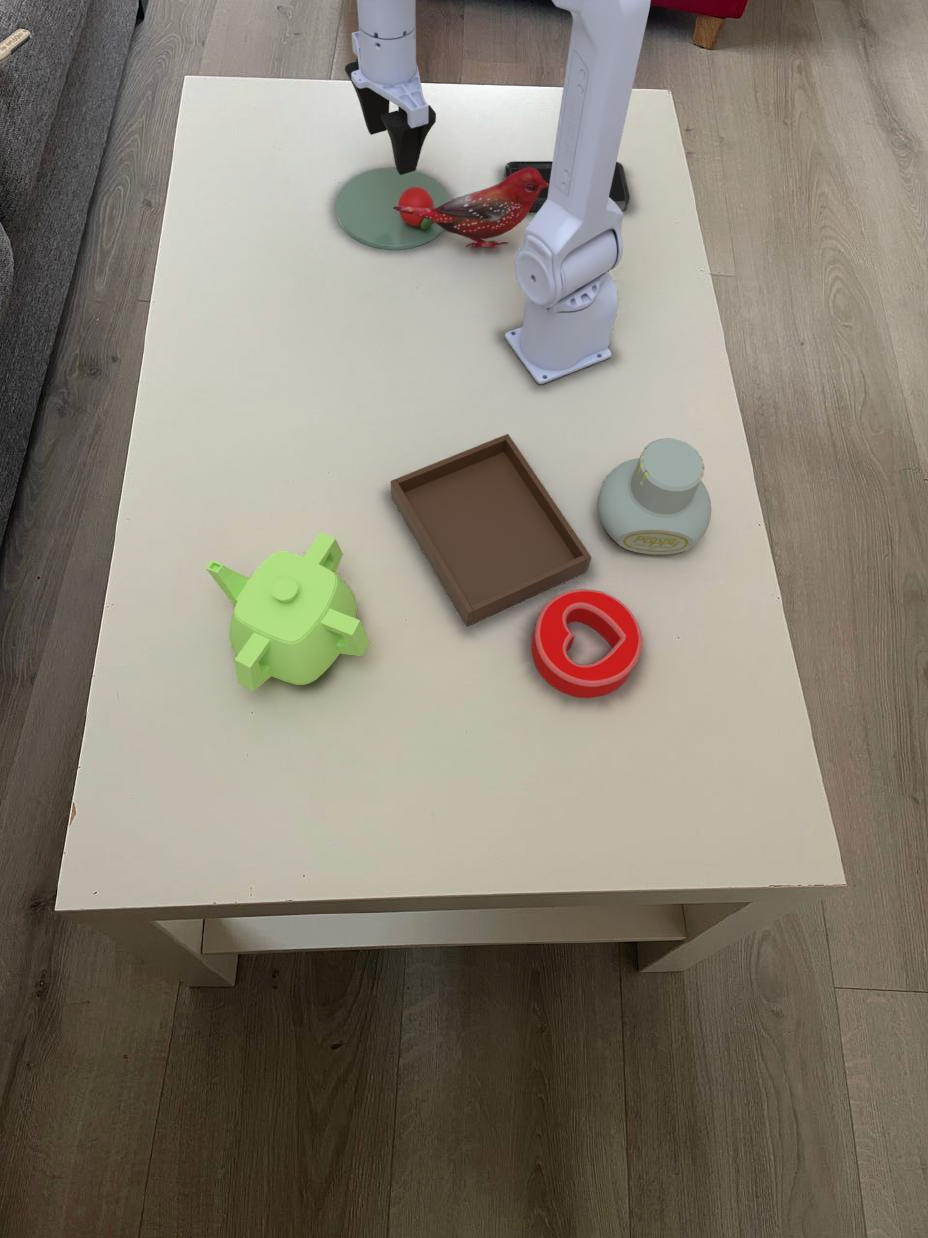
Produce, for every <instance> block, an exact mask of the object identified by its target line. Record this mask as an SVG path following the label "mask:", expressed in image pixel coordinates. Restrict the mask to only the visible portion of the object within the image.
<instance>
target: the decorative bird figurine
mask: <svg viewBox="0 0 928 1238" xmlns="http://www.w3.org/2000/svg"><path fill="white" fill-rule="evenodd" d="M548 186H549V184H548V183H547V182H546V181H544V180H543V179H542V176H541V174H540V173H539V172H538V170H536V169H535V168H524V169H522V170H519V171H517V172H514V173H512V174H511V175H510V176H508V177H507V178H506V179H505V178H504V179H503V180H502V181H501V182H499V183H497V184H495V185H492V186H490V187H487V188H484V189H481V190H477V191H473V192H469V193H467V194H464V195H461V196H459V197H456V198H454V199H452V200H451V199H450V201H449V202H447V203H445V204H443V205H441V206H439V207H437V208H418V207H404V206H401V207H397V206H396V207H393V209H395V210H397V211H401V212H404V213H408V214H412V215H415V216H419V217H423V218H427V219H429V220H431V221H433V222H435V223H436V224H438V225H439V226H440V227H442V228H443V229H444V230H443V231H445V232H447V233H450V234H455V235H458V236H462V237H464V238H467V239H469V240H471V241H473V242H470V243H468V244H466V245H465V246H464V248H467V247H470V248H472V249H473V248H488V249H492V248H495V247H497V246H501V245H507V244H509V242H506V241H503V242H497V241H495V240H490V241H487V240H488V239H493V238H495V237H500V236H502V235H504V234H506V233H508V232H509V231H511V230H513V229H515V228H517V226H518V225H519V224H521V222H523V220H524V219H525V218H526V217H527V215H528V214H529V213H530V211H529V210H530V208H531V207H532V205H533V203H534V202H535V201H536V199H537V197H538V195H539V193H540V191H541V189H543V188H545V187H548Z"/></svg>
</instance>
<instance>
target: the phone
mask: <svg viewBox="0 0 928 1238" xmlns="http://www.w3.org/2000/svg"><path fill="white" fill-rule="evenodd" d="M552 163H553V160H552V161H551V160H550V161H548V160H547V161H545V160H543V161H542V160H541V161H540V160H539V161H534V160H533V161H531V160H530V161H529V160H528V161H521V160H519V161H509V162H507V163H506V164H505V167H504V180H505V179H506V178H507V177H508V176H510V175H511V174H512V173H514V172H517V171H519V170H522V169H524V168H535V169H536V170H538V172H539V173H540V174H541V176H542V179H543V180H544V181H546V182H547V183H548V184H550V177H551V170H552ZM624 168H625V167H624V165H623V164H622V163H621V162H619V161H616V166H615V170H614V175H613V179H612V184H611V189H610V193H609V198H611V199H612V200H613V201H614V202H615V203H616V204H617V206H618V207H619V208H620V210H621V211H624V210H626V209H628V207H629V202H630V200H631V196H630V191H629V186H628V182H627V178H626V173H625V169H624ZM548 190H549V186H548V187H545V188H543V189H541V191H540V193H539V195H538V197H537V199H536V201H535V202H534V203H533V205H532V207H531V208H530V210H529V212H538V211H539V210H540V208H541V207H542V206H543V204H544V203H545V202H546V200H547V197H548Z"/></svg>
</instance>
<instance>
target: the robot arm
mask: <svg viewBox="0 0 928 1238" xmlns="http://www.w3.org/2000/svg"><path fill="white" fill-rule="evenodd" d="M416 1H417V0H356V6H357V22H358V31H354V32H351V45H352V46H351V47H352V52H353V54H354V55H355V56H356V57H357V58H356V60H355V61H353V62H352V61H351V62H349V63H347V64H346V65H345V67H344V72H345V73H346V75H347V77H348V78H349V80H350V83H351V84H352V86H353V89H354V91H355V93H356V96H357V99H358V102H359V105H360V108H361V112H362V115H363V119H364V123H365V126H366V128H367V132H368V133H369V134H370V136H372V135H376V134H379V133H383V132H386V131H387V133H388V136H389V140H390V143H391V148H392V155H393V160H394V161H393V162H394V166H395V167H396V169H397V172H398V173H399V174H400V175H403V174H406V173H409V172H413V171H417V167H418V165H419V160H420V157H421V153H422V150H423V146H424V143H425V141H426V138H427V136H428V134H429V132H430V131H431V129H432V128H433V126H434V125H435V123H436V122H437V113H436V111H435V110H434V108H433V107H432V106H431V105H430V104H428V102H427V101H426V100H425V97H424V92H423V87H422V82H421V76H420V72H419V71H420V69H419V67H418V63H417V19H416V18H417V16H416V15H417V14H416V13H417V11H416V10H417V5H416V3H417V2H416ZM651 1H652V0H551V2H552V3H553V5H554V6H555V7H557V8H559V9H562V10H565V11H568V12H569V13H570V15H571V16H572V24H571V25H572V26H571V32H570V39H569V47H568V53H567V61H566V67H565V75H564V79H563V80H564V81H563V86H562V95H561V102H560V106H559V107H560V108H559V113H558V114H559V115H558V122H557V129H556V134H555V143H554V150H553V156H552V161H553V163H552V170H551V177H550V184H549V190H548V197H547V200H546V202H545V203H544V204H543V206H542V207H541V208H540V210H539V211H536V214H535V215H534V216H533V218H532V219H531V220H530V222H529V223H528V224H527V226H526V228H525V231H524V232H525V233H524V237H523V242H522V243H521V245H520V246H519V248H518V249H517V250H516V252H515V256H514V262H513V263H514V274H515V280H516V281H517V285H518V287H519V288H520V290H521V292H522V293H523V295H524V296H525V303H524V304H525V305H524V311H523V318H522V326H520V327H518V328H514V329H512V330H509V331H506V333H504V339H505V340H506V342H507V343H508V344H509V345H510V347H511V349H512V350H513V351H514V353H515V354H516V356H517V357H518V358H519V360H520V361H521V363H522V364H523V365H524V366H525V368H526V369H527V370H528V373H530V375H531V377H532V378H533V379H534V381H535V382H536V383H537V384H539V385H543V384H546V383H549V382H551V381H554V380H556V379H560V378H562V377H564V376H566V375H569V374H573V373H574V372H577V371H579V370H583V369H584V368H587V367H590V366H593V365H595V364H597V363H601V362H602V361H605V360H608V359H610V358H611V357H612V351H611V350H610V349H609V344H610V341H611V337H612V334H613V330H614V326H615V322H616V319H617V314H618V312H619V311H618V310H619V295H618V290H617V285H616V283H615V281H614V279H613V276H611V274H610V272H611V271H612V270H614V269H616V268H617V267H618V266H619V264H620V262H621V261H622V258H623V253H624V252H623V251H624V244H623V237H622V225H623V220H624V212H623V210H620V208H619V207H618V206H617V204H616V203H615V202H614V201H613V200H612V199H611V198H609V193H610V189H611V184H612V179H613V175H614V170H615V166H616V162H618V161H617V160H618V155H619V151H620V148H621V147H620V146H621V142H622V138H623V133H624V128H625V125H626V124H625V123H626V118H627V114H628V109H629V107H630V106H629V105H630V101H631V97H632V96H631V95H632V92H633V86H634V84H635V83H634V82H635V78H636V74H637V73H636V72H637V68H638V64H639V59H640V55H641V50H642V45H643V40H644V36H645V33H646V32H645V31H646V27H647V23H648V16H649V12H650V8H651ZM390 103H392V104H393V105H396V106H397V108H398V109H397V110H393V111H390Z"/></svg>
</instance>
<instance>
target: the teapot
mask: <svg viewBox="0 0 928 1238" xmlns="http://www.w3.org/2000/svg"><path fill="white" fill-rule="evenodd" d="M343 555H344V553H343V551H342V549H341V546H340V544H339V542H338V541H337V539H336V538H335V537H333V536H331V535H328V534H327V533H324V532H322V531H320V532H319V533H318V534H317V536H316V537H315V539H314V541H313V542H312V544H311V545H310V546H309V548H308V549H307V551H306V552H305V554H304V556H301V555H299V554H296V553H293V552H290V551H286V550H278V551H275V552H273V553H272V554H271V555H269V556H268V557H267V558H266V559H265V560H264V561H263V562H261V564H260V565H259V566H258V567H257V568H256V570H255V571H254V572H253V573H252V575H250V578H249V577H248V576H247V577H246V576H245V575H243V574H241V573H239V572H237V571H235V570H233V569H231V568H230V567H228V566H225V564H223V563H221V562H219V561H216V560H214V559H212V560H211V561H210V562H209V563H208V564H207V566H206V567H205V570H206V571H207V572H208V573H209V575H210V576H211V577H212V579H213V580H214V581H215V582H216V584H217V585H218V587H219V588H220V589H221V591H222V592H223V593H224V594H225V596H226V597H227V599H229V601H230V603H231V604H232V606H234V608H233V612H232V615H231V619H230V623H229V641H230V645H231V648H232V651H233V653H234V654H235V655H236V656H235V658H234V666H235V673H236V678H237V684H239V685H241V686H242V687H244V688H246V689H249V690H250V691H252V692H254V691H256V690H257V689H258V688H260V686H262V685H263V684H265V682H266V681H268V680H269V679H270V678H271V677H272V678H275V679H278V680H280V681H283V682H286V683H289V684H292V685H297V686H304V685H305V686H306V685H308V684H311V683H313V682H315V681H316V680H318V679H319V678H320V677H321V676H322V675H323V674H324V673H325V672H326V671H327V670H329V668H330V667H331V666H332V665H333V663H334V662H335V661H336V660H337V659H338V658H339V656H340V655H350V656H359V657H364V654H365V653H366V650H367V649H368V647H369V645H370V643H371V640H370V639H369V638H370V637H368V634H367V632H366V629H365V627H364V625H363V623H362V620H361V619H358V618H357V611H358V605H357V600H356V597H355V594H354V592H353V590H352V589H351V587H350V585H349V584H348V582H346V581H345V580H344V579H343V578H342V577H340V575H338V574H337V573H336V572H337V570H338V567H339V565H340V562H341V560H342V557H343Z"/></svg>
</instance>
